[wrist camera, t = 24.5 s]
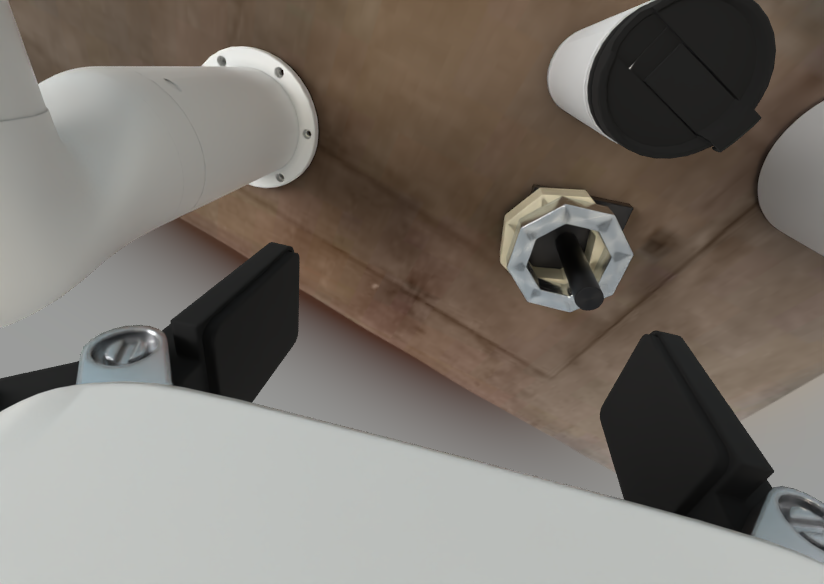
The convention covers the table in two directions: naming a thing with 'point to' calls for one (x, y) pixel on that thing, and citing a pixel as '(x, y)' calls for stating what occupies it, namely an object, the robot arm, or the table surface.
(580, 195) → the ivory ring
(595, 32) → the travel mug
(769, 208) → the cylinder vase
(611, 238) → the steel ring
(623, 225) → the stand
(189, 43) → the table surface
